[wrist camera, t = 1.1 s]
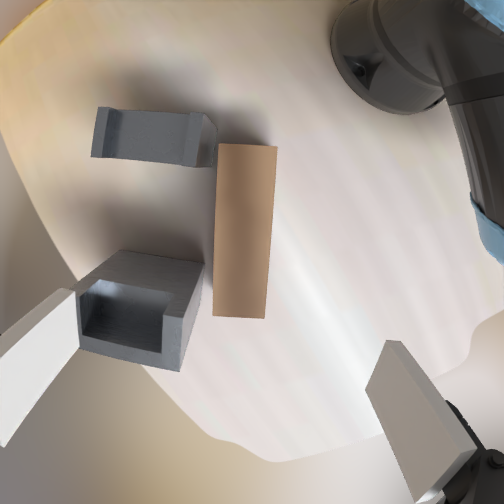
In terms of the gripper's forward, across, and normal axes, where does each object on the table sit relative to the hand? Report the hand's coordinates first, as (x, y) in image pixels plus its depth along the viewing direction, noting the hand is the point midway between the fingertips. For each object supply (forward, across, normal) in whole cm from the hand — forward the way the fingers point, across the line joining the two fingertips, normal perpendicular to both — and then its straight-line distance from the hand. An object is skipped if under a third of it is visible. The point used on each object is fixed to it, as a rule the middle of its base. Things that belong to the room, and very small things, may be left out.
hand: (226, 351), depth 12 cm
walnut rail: (+23, 0, +1) cm, 23 cm away
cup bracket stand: (+23, -8, +1) cm, 24 cm away
